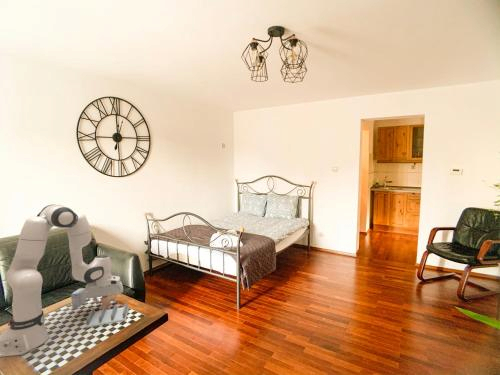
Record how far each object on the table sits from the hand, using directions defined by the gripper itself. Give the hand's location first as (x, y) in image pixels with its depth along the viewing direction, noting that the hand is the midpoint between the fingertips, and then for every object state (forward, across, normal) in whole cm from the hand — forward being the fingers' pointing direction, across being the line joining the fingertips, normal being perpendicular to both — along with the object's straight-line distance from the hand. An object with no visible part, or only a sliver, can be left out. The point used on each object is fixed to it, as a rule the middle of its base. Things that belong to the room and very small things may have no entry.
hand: (105, 302), depth 166 cm
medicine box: (+3, -17, +9) cm, 19 cm away
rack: (+3, +4, -14) cm, 15 cm away
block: (+3, 0, 0) cm, 3 cm away
